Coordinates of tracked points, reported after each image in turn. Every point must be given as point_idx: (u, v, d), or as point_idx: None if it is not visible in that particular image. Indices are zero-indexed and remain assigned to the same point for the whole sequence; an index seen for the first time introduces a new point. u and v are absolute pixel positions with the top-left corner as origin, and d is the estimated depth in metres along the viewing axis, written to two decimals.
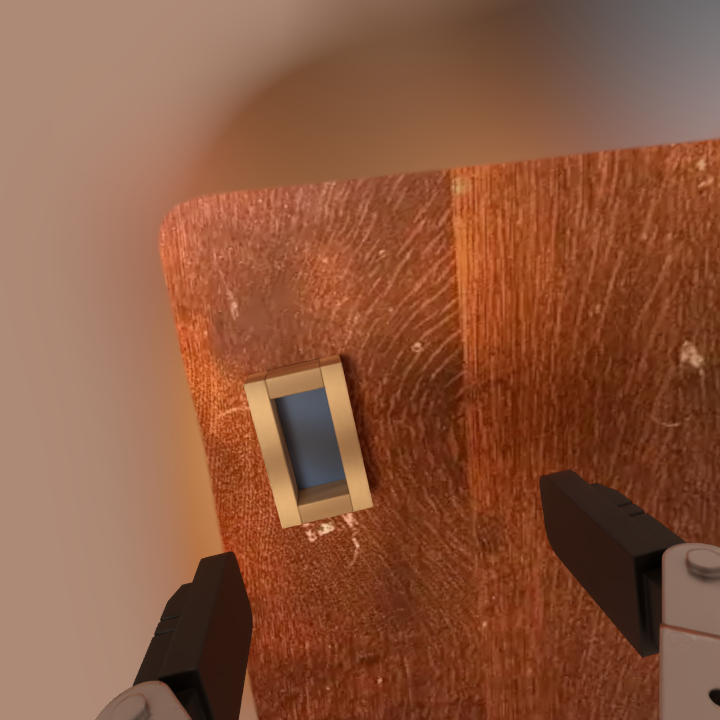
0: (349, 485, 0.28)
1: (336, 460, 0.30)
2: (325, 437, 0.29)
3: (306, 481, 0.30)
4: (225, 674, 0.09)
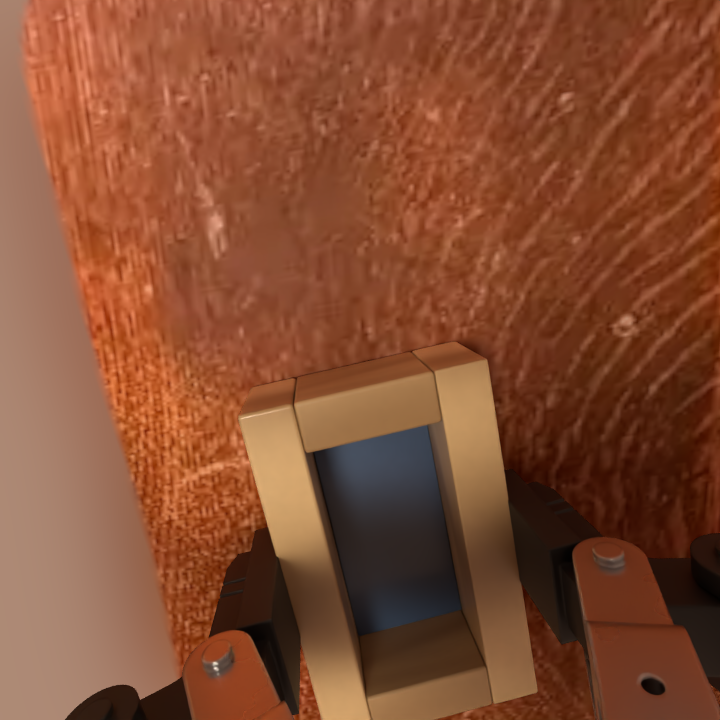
0: (488, 649, 0.12)
1: (442, 573, 0.14)
2: (421, 525, 0.13)
3: (376, 618, 0.14)
4: (288, 631, 0.10)
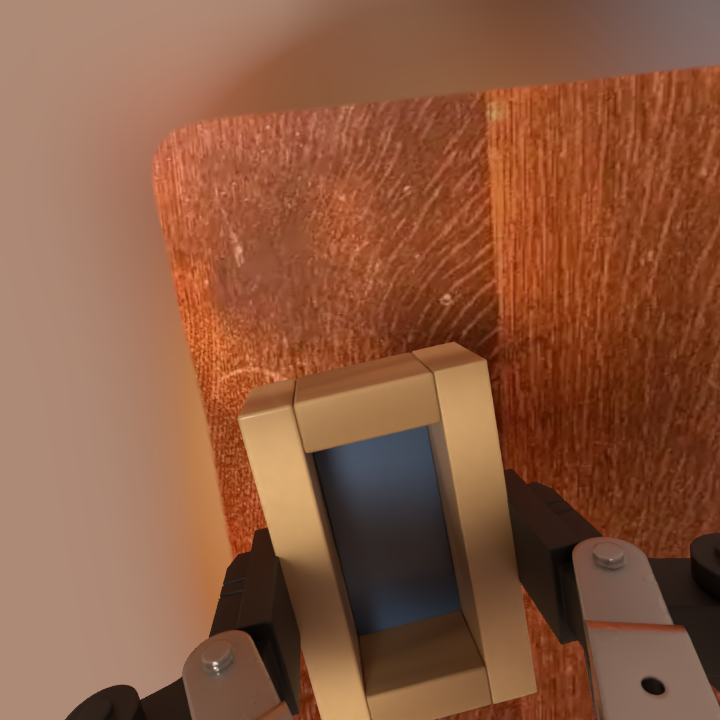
0: (487, 649, 0.12)
1: (441, 573, 0.14)
2: (421, 525, 0.13)
3: (376, 618, 0.14)
4: (288, 631, 0.10)
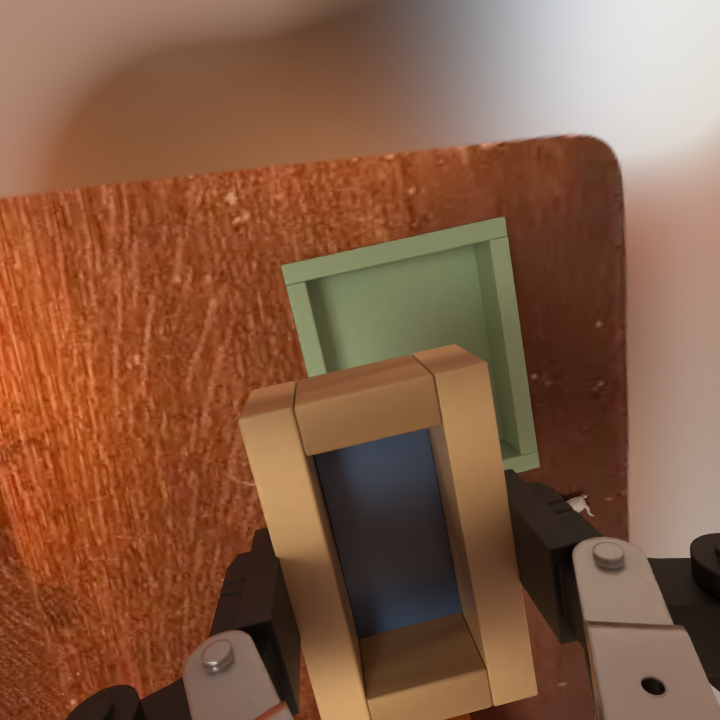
0: (488, 652, 0.12)
1: (442, 576, 0.14)
2: (421, 527, 0.13)
3: (376, 620, 0.14)
4: (288, 631, 0.10)
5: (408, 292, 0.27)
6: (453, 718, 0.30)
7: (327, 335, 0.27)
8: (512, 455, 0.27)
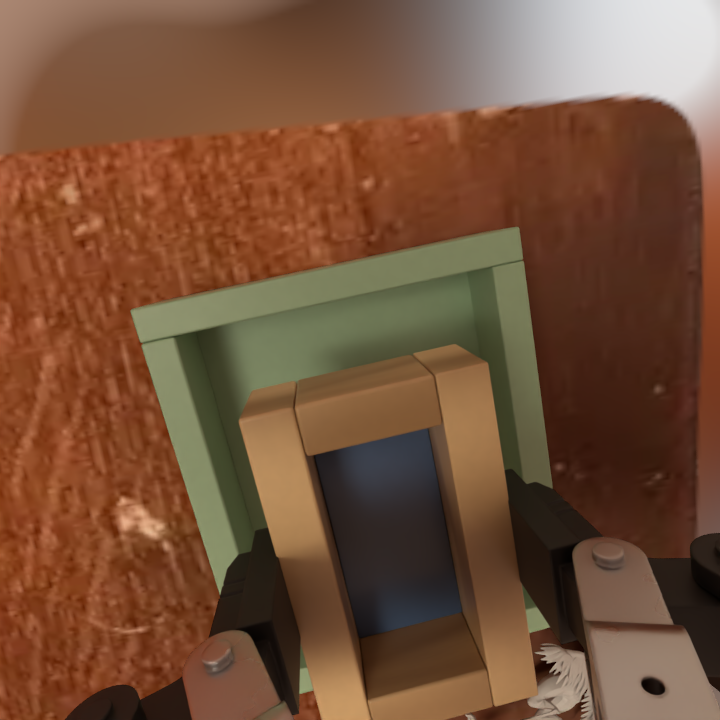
0: (489, 652, 0.12)
1: (442, 576, 0.14)
2: (422, 527, 0.13)
3: (377, 621, 0.14)
4: (288, 631, 0.10)
5: (363, 345, 0.17)
6: None
7: (233, 412, 0.17)
8: (526, 603, 0.17)
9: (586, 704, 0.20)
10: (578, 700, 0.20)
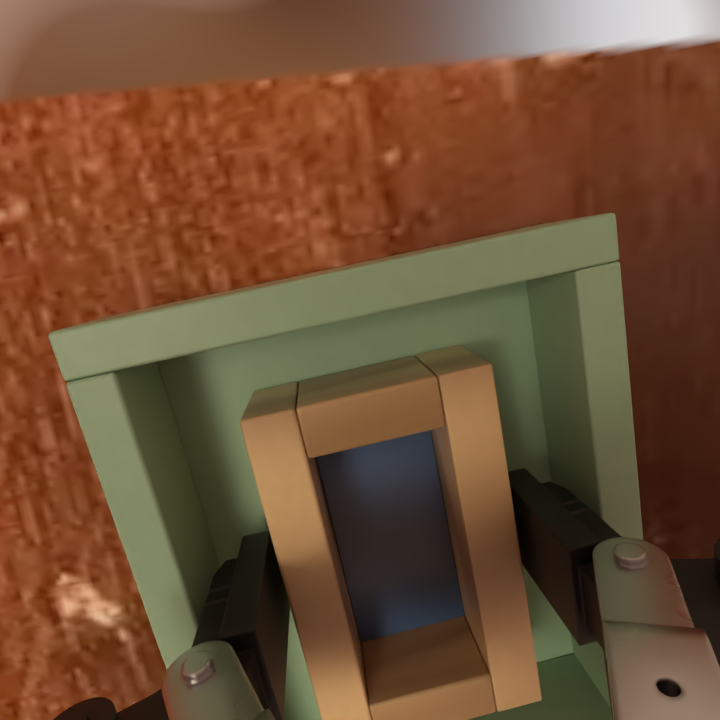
0: (492, 656, 0.12)
1: (445, 579, 0.14)
2: (425, 530, 0.13)
3: (378, 624, 0.14)
4: (273, 640, 0.10)
5: None
6: None
7: (209, 465, 0.13)
8: None
9: None
10: None
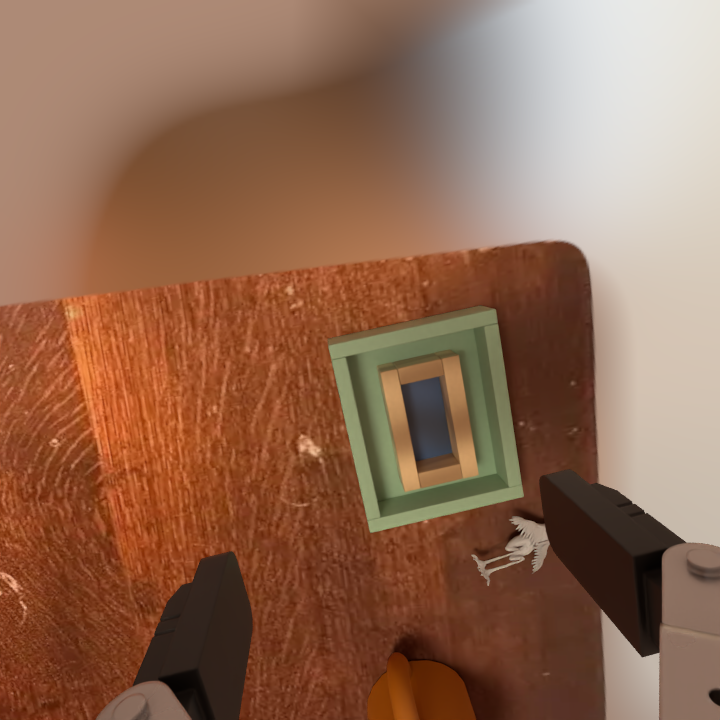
0: (460, 456, 0.34)
1: (444, 437, 0.36)
2: (437, 417, 0.36)
3: (419, 454, 0.36)
4: (225, 673, 0.09)
5: None
6: (454, 696, 0.38)
7: (359, 392, 0.35)
8: (502, 487, 0.35)
9: (536, 550, 0.38)
10: (532, 548, 0.38)
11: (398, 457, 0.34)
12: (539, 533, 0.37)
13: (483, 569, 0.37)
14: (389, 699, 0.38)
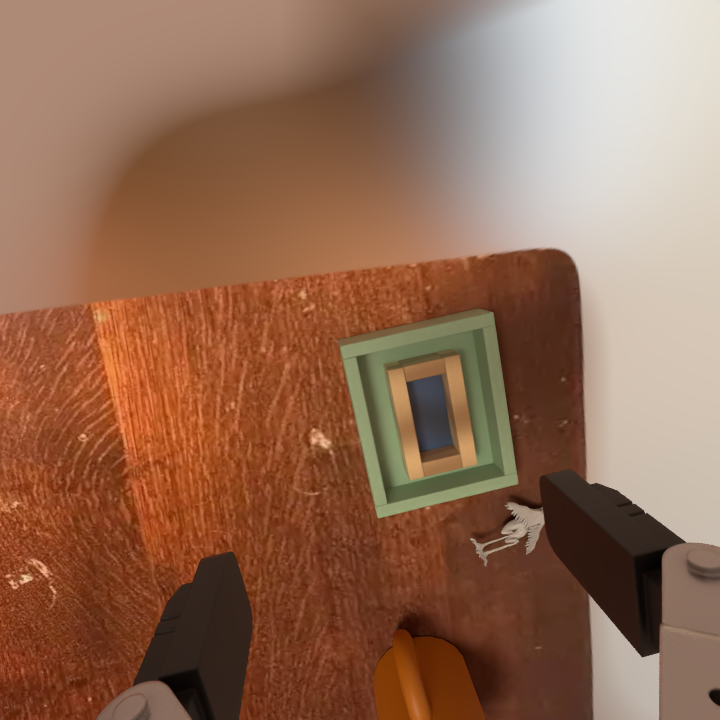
0: (460, 447, 0.37)
1: (445, 430, 0.39)
2: (438, 412, 0.38)
3: (422, 446, 0.39)
4: (225, 674, 0.09)
5: None
6: (455, 667, 0.41)
7: (367, 389, 0.38)
8: (498, 475, 0.38)
9: (530, 533, 0.41)
10: (526, 531, 0.41)
11: (404, 448, 0.37)
12: (532, 517, 0.41)
13: (481, 551, 0.40)
14: (394, 671, 0.41)
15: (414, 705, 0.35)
